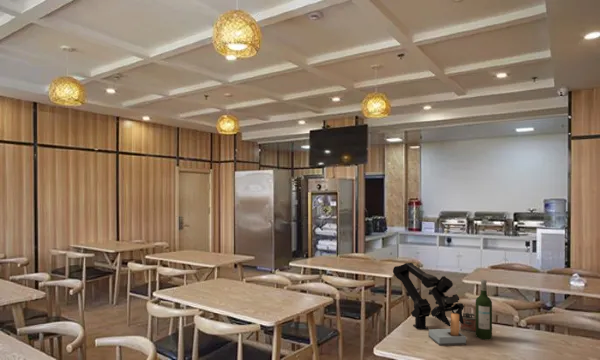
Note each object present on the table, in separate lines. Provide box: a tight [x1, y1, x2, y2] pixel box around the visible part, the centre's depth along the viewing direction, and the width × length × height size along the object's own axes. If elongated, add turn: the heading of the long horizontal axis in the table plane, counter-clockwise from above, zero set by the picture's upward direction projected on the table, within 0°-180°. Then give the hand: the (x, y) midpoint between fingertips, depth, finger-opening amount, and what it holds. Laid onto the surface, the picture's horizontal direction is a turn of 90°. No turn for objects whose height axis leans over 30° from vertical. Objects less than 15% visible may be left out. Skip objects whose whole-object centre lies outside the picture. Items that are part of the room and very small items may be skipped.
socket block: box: [428, 328, 467, 346], centre depth 210 cm, size 12×14×4 cm
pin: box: [450, 312, 460, 336], centre depth 209 cm, size 4×4×13 cm
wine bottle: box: [475, 279, 493, 341], centre depth 216 cm, size 8×8×30 cm
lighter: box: [459, 311, 476, 334], centre depth 225 cm, size 8×3×10 cm, turn 62°
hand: (456, 324), depth 207 cm, fingers open, 9 cm apart
